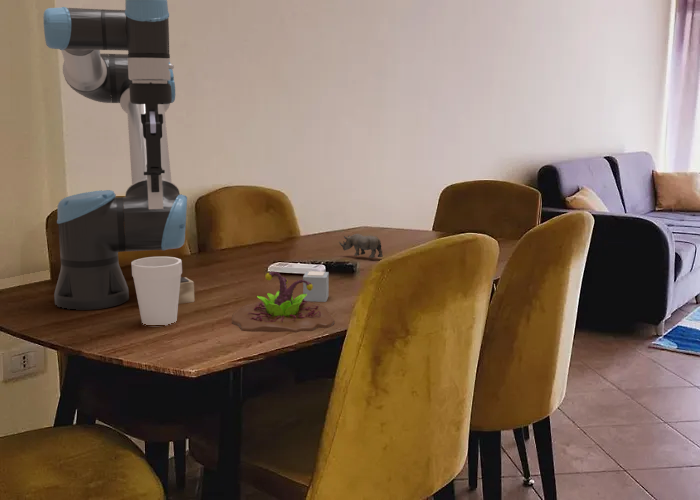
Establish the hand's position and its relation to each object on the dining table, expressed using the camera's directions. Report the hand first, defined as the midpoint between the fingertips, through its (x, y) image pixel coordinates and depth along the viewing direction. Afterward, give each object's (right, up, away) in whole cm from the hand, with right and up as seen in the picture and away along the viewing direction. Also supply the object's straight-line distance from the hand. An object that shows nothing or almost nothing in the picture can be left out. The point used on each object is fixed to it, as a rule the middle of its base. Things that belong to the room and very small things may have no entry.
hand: (155, 208), depth 146 cm
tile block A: (0, -20, +19) cm, 28 cm away
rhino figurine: (+40, -10, +69) cm, 81 cm away
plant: (+24, -23, +5) cm, 33 cm away
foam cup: (0, -23, +3) cm, 23 cm away
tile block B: (+30, -19, +22) cm, 42 cm away
